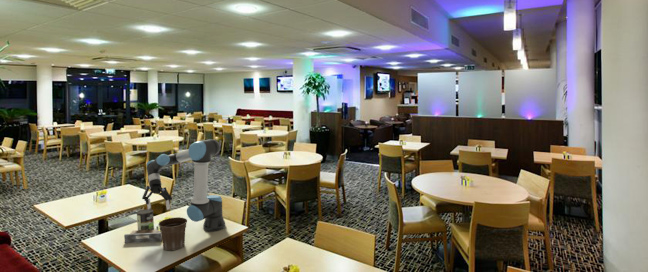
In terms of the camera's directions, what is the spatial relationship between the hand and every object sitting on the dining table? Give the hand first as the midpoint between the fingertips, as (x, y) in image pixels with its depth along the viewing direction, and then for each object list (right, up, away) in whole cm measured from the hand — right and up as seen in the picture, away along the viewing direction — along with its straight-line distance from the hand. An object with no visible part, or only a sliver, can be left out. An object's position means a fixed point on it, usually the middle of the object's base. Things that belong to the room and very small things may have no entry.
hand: (159, 208), depth 233 cm
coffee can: (-13, -18, +9) cm, 24 cm away
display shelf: (-7, -19, -2) cm, 20 cm away
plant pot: (+17, -21, -15) cm, 31 cm away
